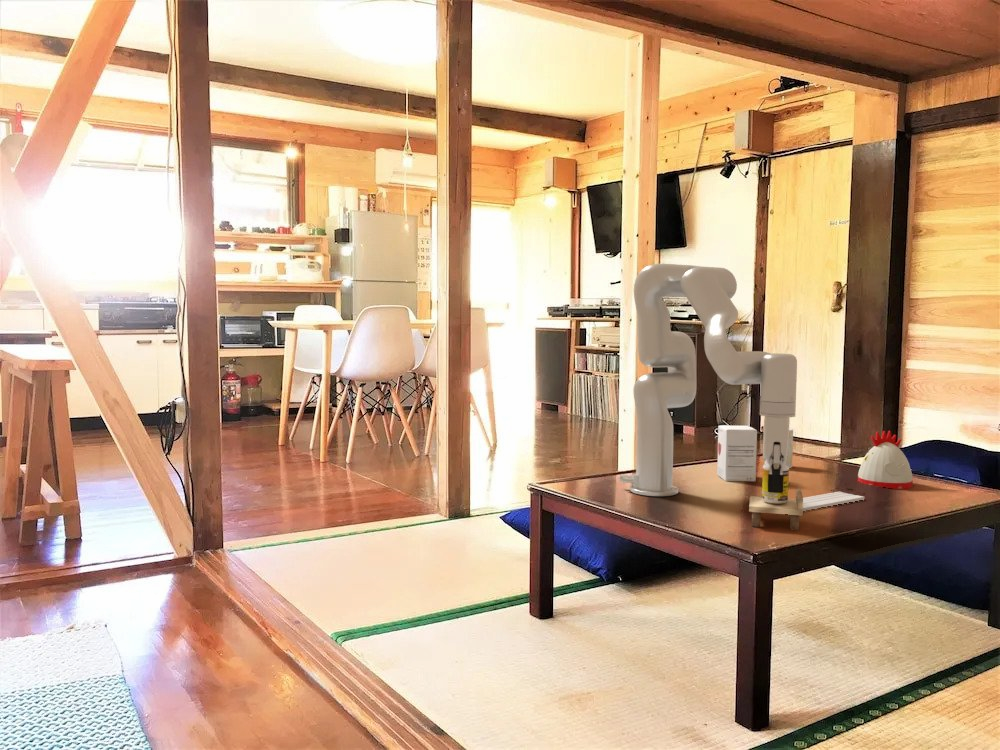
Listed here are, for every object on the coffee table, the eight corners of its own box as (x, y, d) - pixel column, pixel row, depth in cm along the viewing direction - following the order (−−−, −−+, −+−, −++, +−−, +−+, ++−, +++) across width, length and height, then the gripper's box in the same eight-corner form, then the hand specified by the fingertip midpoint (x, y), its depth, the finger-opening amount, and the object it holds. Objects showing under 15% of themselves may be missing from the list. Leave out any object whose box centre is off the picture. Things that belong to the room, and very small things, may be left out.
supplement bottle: (782, 505, 176) (783, 459, 175) (757, 501, 179) (758, 456, 178) (791, 501, 180) (793, 456, 179) (767, 497, 184) (768, 453, 183)
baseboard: (752, 508, 197) (786, 517, 188) (753, 497, 196) (787, 505, 188) (830, 495, 213) (864, 502, 204) (830, 484, 212) (865, 491, 204)
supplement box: (716, 475, 237) (717, 424, 236) (746, 475, 237) (747, 425, 236) (724, 481, 228) (726, 429, 227) (756, 481, 228) (757, 429, 227)
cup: (788, 470, 246) (789, 431, 245) (761, 467, 250) (762, 429, 249) (794, 466, 252) (795, 428, 252) (768, 463, 257) (769, 426, 256)
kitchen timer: (849, 479, 232) (851, 427, 231) (897, 479, 232) (899, 427, 231) (871, 488, 218) (873, 434, 217) (922, 489, 218) (924, 434, 217)
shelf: (748, 527, 176) (749, 495, 176) (749, 516, 187) (750, 485, 186) (802, 531, 173) (803, 499, 172) (799, 519, 183) (800, 489, 183)
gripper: (760, 404, 187) (757, 481, 189) (759, 412, 171) (757, 496, 172) (794, 405, 185) (791, 483, 186) (797, 414, 169) (794, 498, 170)
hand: (775, 488), depth 179 cm, fingers open, 5 cm apart
